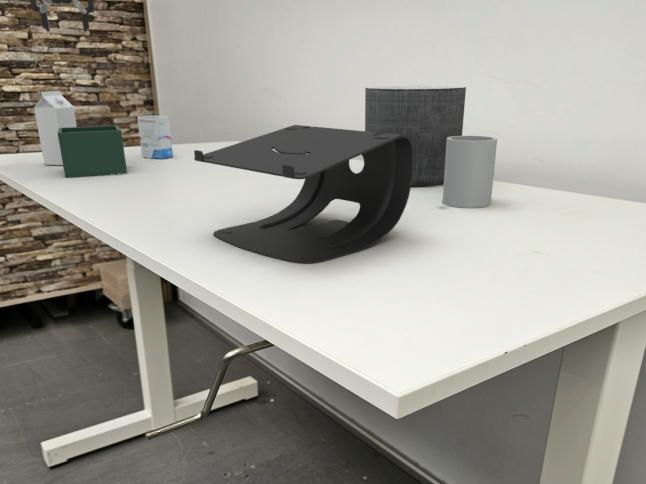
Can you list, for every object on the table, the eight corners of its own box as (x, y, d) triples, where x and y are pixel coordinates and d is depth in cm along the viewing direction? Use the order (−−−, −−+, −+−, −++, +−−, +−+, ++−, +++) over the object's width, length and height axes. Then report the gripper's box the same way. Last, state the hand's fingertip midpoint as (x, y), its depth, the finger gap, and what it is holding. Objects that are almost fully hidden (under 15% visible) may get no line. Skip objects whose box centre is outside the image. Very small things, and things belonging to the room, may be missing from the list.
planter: (416, 168, 156) (420, 84, 148) (479, 180, 139) (487, 86, 131) (345, 176, 145) (346, 87, 137) (404, 191, 128) (408, 89, 120)
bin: (65, 177, 148) (57, 133, 144) (66, 169, 161) (58, 127, 157) (127, 173, 153) (121, 130, 149) (123, 165, 166) (117, 125, 161)
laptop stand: (415, 236, 95) (420, 133, 88) (301, 270, 80) (299, 148, 74) (306, 211, 112) (304, 123, 106) (196, 234, 97) (187, 134, 91)
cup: (447, 207, 113) (451, 141, 108) (439, 198, 121) (443, 135, 117) (495, 207, 113) (502, 140, 108) (484, 197, 121) (490, 135, 117)
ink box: (174, 157, 180) (169, 115, 175) (162, 159, 176) (157, 116, 171) (153, 155, 184) (148, 114, 179) (141, 157, 180) (135, 115, 175)
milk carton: (44, 165, 168) (30, 91, 160) (62, 161, 174) (49, 90, 166) (65, 166, 166) (52, 92, 158) (82, 162, 172) (70, 90, 164)
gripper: (87, -41, 147) (97, 32, 154) (23, -44, 143) (36, 32, 149) (86, -47, 141) (97, 31, 147) (19, -50, 137) (33, 30, 143)
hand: (66, 31), depth 148 cm, fingers open, 8 cm apart
